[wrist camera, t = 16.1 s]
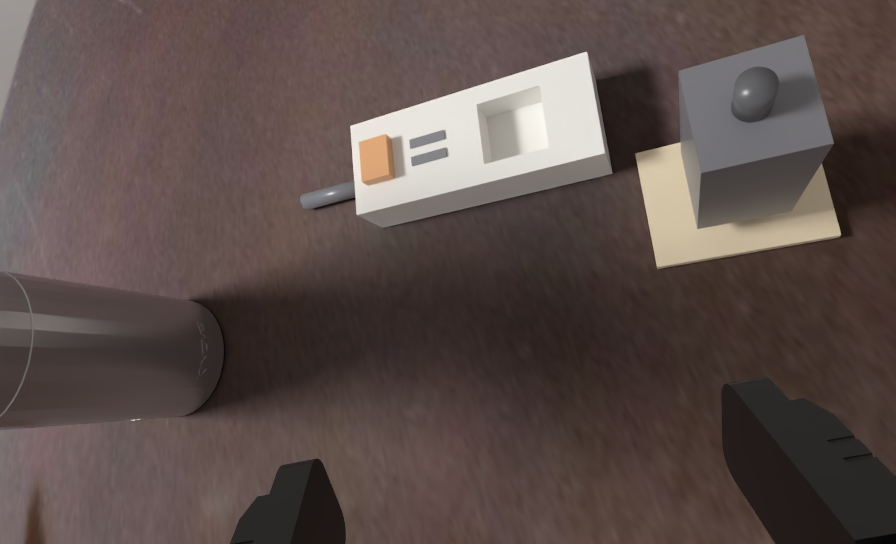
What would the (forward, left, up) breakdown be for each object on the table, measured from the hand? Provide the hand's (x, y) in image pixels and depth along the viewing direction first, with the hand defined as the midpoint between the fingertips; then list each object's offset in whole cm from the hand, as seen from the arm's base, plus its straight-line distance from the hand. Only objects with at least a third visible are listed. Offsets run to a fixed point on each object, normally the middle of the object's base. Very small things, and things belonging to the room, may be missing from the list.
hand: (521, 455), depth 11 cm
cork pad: (+7, +11, -23) cm, 26 cm away
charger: (+7, +11, -22) cm, 26 cm away
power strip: (-10, +17, -23) cm, 30 cm away
